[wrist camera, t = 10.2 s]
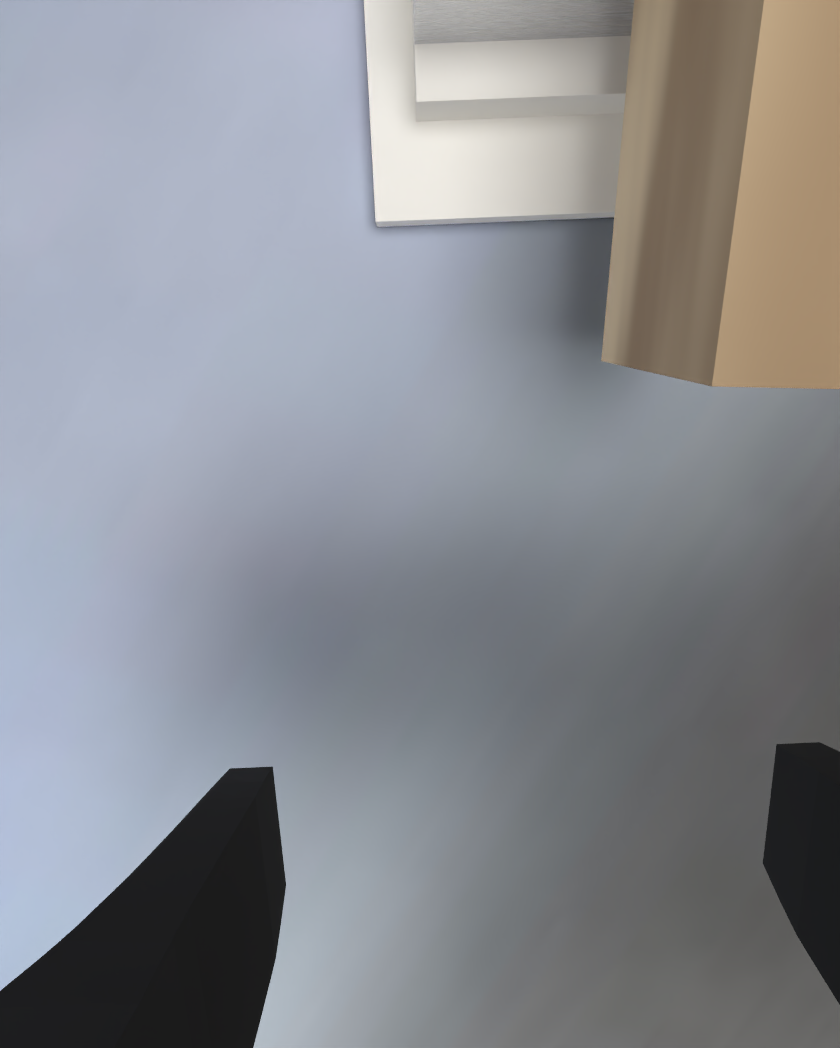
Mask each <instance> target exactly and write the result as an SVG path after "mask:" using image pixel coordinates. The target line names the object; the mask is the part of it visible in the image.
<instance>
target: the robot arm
mask: <svg viewBox="0 0 840 1048" xmlns="http://www.w3.org/2000/svg"><path fill="white" fill-rule="evenodd" d="M763 864H764V867H765V869H766V871H767V873H768V875H769V878H770V880H771V882H772V884H773V886H774V889H775V891H776V893H777V895H778V897H779V900H780V902H781V904H782V906H783V908H784V910H785V912H786V914H787V916H788V918H789V920H790V922H791V924H792V926H793V928H794V930H795V932H796V934H797V936H798V938H799V939H800V941H801V943H802V944H803V946H804V948H805V949H806V951H807V953H808V954H809V956H810V958H811V959H812V961H813V962H814V964H815V966H816V967H817V969H818V970H819V972H820V974H821V975H822V977H823V978H824V980H825V982H826V983H827V985H828V987H829V988H830V990H831V991H832V993H833V995H834V996H835V998H836V999H837V1001H838V1003H839V1004H840V752H839V751H837V750H835V749H833V748H830V747H828V746H826V745H824V744H822V743H819V742H817V743H795V744H777V746H776V754H775V763H774V772H773V780H772V789H771V798H770V806H769V815H768V823H767V832H766V841H765V849H764V858H763ZM285 888H286V881H285V872H284V863H283V855H282V846H281V837H280V828H279V819H278V811H277V802H276V793H275V784H274V775H273V767H256V768H234V769H229V770H228V771H227V772H226V773H225V774H224V775H223V776H222V777H221V779H220V780H219V781H218V782H217V783H216V784H215V785H214V786H213V787H212V788H211V789H210V790H209V791H208V792H207V793H206V795H205V796H204V797H203V798H202V799H201V800H200V801H199V802H198V803H197V804H196V806H195V807H194V808H193V809H192V810H191V811H190V812H189V813H188V814H187V815H186V816H185V818H184V819H183V820H182V821H181V822H180V823H179V824H178V825H177V826H176V827H175V828H174V830H173V831H172V832H171V833H170V834H169V835H168V836H167V837H166V838H165V839H164V840H163V841H162V842H161V843H160V844H159V845H158V846H157V847H156V848H155V850H154V851H153V852H152V853H151V854H150V855H149V856H148V857H147V858H146V859H145V860H144V861H143V862H142V863H141V864H140V865H139V866H138V867H137V868H136V869H135V870H134V871H133V872H132V873H131V874H130V875H129V876H128V877H127V878H126V879H125V880H124V881H123V882H122V883H121V884H120V885H119V886H118V887H117V888H116V889H115V890H114V891H113V892H112V893H111V894H110V895H109V896H108V897H107V898H106V899H105V900H104V901H103V902H102V903H100V904H99V905H98V906H97V907H96V908H95V909H94V910H93V911H92V912H91V913H90V914H89V915H88V916H87V917H86V918H85V919H84V920H83V921H82V922H81V923H80V924H79V925H77V926H76V927H75V928H74V929H73V930H72V931H71V932H70V933H69V934H67V935H66V936H65V937H64V938H63V939H62V940H61V941H60V942H58V943H57V944H56V945H55V946H54V947H53V948H51V949H50V950H49V951H48V952H47V953H46V954H44V955H43V956H42V957H41V958H40V959H39V960H37V961H36V962H35V963H34V964H33V965H31V966H30V967H29V968H28V969H26V970H25V971H24V972H23V973H22V974H20V975H19V976H18V977H17V978H15V979H14V980H13V981H12V982H11V983H9V984H8V985H7V986H6V987H4V988H3V989H2V990H1V991H0V1048H253V1046H254V1042H255V1038H256V1034H257V1031H258V1027H259V1023H260V1019H261V1015H262V1011H263V1007H264V1003H265V999H266V995H267V991H268V987H269V983H270V979H271V975H272V971H273V967H274V963H275V959H276V952H277V945H278V939H279V932H280V925H281V918H282V910H283V903H284V896H285Z"/></svg>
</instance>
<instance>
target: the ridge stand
mask: <svg viewBox="0 0 840 1048" xmlns="http://www.w3.org/2000/svg"><path fill="white" fill-rule="evenodd" d="M633 8H634V0H364V13H365V32H366V51H367V70H368V88H369V107H370V126H371V145H372V163H373V182H374V201H375V219H376V224H377V227H392V226H416V225H440V224H464V223H489V222H513V221H537V220H562V219H586V218H610V217H614V216H615V205H616V194H617V183H618V172H619V161H620V150H621V139H622V128H623V117H624V107H625V96H626V85H627V74H628V63H629V52H630V41H631V30H632V19H633Z"/></svg>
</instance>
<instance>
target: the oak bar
mask: <svg viewBox="0 0 840 1048" xmlns="http://www.w3.org/2000/svg"><path fill="white" fill-rule="evenodd" d="M601 361H604V362H608V363H612V364H617V365H621V366H626V367H630V368H634V369H639V370H643V371H647V372H652V373H656V374H660V375H665V376H669V377H674V378H678V379H682V380H687V381H691V382H695V383H700V384H704V385H708V386H722V387H769V388H816V389H840V0H634V8H633V19H632V30H631V41H630V52H629V63H628V74H627V85H626V96H625V107H624V117H623V128H622V139H621V150H620V161H619V172H618V183H617V194H616V205H615V216H614V227H613V238H612V249H611V260H610V271H609V282H608V293H607V303H606V314H605V325H604V336H603V347H602V358H601Z"/></svg>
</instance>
